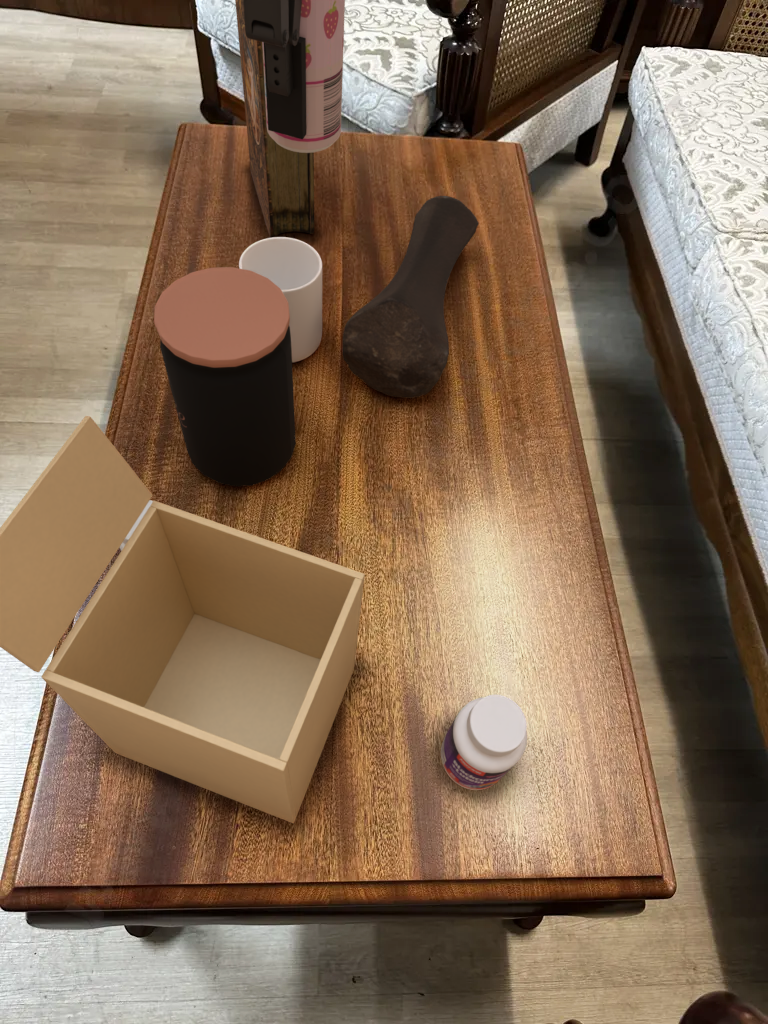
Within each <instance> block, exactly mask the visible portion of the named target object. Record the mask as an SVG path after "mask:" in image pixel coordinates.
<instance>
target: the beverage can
mask: <svg viewBox="0 0 768 1024" xmlns="http://www.w3.org/2000/svg"><path fill="white" fill-rule="evenodd" d="M345 11H346V0H302V5H301V18H300V32H299V33H300V35H299V37H303V38H306V136H305V137H304V138H303V139H299V138H295V137H292V136H288V135H284V134H281V133H277V132H273V131H270V130H268V118H267V99H266V80H265V62H264V43H263V42H262V43H263V63H264V83H265V102H266V122H267V132H268V134H269V136H270V137H271V138H272V139H273V140H274V141H275V142H276V143H277V144H278V145H280V146H281V147H283V148H285V149H288V150H291V151H295V152H300V153H312V152H314V153H318V152H322V151H324V150H327V149H329V148H330V147H332V145H334V144H335V143H336V142H337V141H338V140H339V139H340V136H341V135H342V134H341V133H342V110H343V109H342V108H343V107H342V106H343V76H344V46H345V45H344V43H345V14H346V13H345Z"/></svg>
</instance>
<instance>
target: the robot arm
mask: <svg viewBox="0 0 768 1024" xmlns="http://www.w3.org/2000/svg"><path fill="white" fill-rule="evenodd" d="M243 1H244V19H245V33H246V37H247V38H249V39H252V40H256V41H260V42H263V43H264V62H265V80H266V99H267V118H268V130H270V131H273V132H277V133H281V134H284V135H288V136H292V137H295V138H299V139H303V138H304V137H305V136H306V38H303V37H299V35H300V33H299V32H300V18H301V5H302V0H243Z"/></svg>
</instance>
